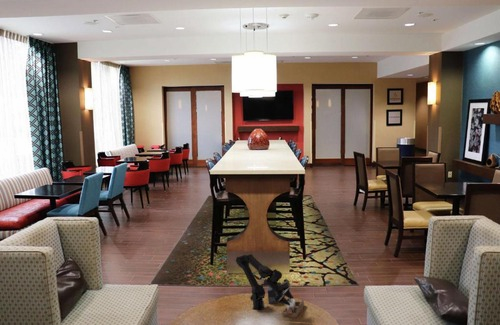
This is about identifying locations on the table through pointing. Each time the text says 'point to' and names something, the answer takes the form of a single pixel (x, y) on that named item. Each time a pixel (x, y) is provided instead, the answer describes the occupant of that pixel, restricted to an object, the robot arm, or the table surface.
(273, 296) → the small box
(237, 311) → the table surface
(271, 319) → the table surface
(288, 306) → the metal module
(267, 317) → the table surface
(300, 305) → the divided wooden tray
